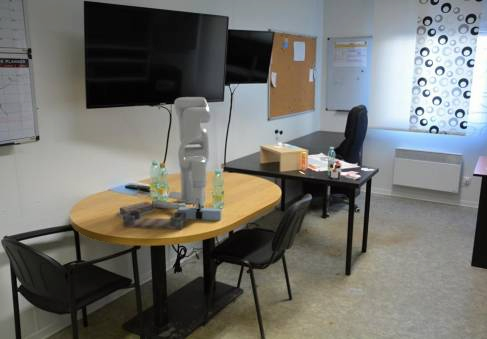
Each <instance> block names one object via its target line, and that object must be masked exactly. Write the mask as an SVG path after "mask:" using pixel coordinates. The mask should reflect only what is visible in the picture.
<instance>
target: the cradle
mask: <svg viewBox="0 0 487 339" xmlns="http://www.w3.org/2000/svg"><path fill="white" fill-rule="evenodd" d="M173 214H174V216H171V217H170V218H158V217H142V215H141V210H129V211H128V212H127V213H126V214H125V215H124V216H123V218H122V225H123V226H122V227H123V228H137V229H138V228H139V229H156V230H157V229H158V230H160V229H161V230H178V231H181V230H183V228H184V226H185V225H186V223H187V219H186V212H178V211H175V212H174V213H173Z"/></svg>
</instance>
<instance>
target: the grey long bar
mask: <svg viewBox="0 0 487 339" xmlns="http://www.w3.org/2000/svg"><path fill="white" fill-rule="evenodd" d="M151 204H152V206H153V208H156V209H168V210H169V209H170V210H176V212H178V209H179V208H180V207H187V204H186V203H181V202H180V203H177V202H170V201H163V200H160V199H158V200H156V199H155V200H152V202H151Z"/></svg>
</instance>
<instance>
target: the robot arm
mask: <svg viewBox="0 0 487 339" xmlns="http://www.w3.org/2000/svg"><path fill="white" fill-rule="evenodd" d="M173 104H174V110H175V114H176V116H177V119H178V123H179V124H178V125H179V140H180V144H179V148H178V152H177V154H178V155H177V156H178V165H179V170H180V175H179V176H180V197H178V202H179V203H180V204H181V203H185V204H186V205H187V204H189V205H190V204H192V207H195V208H196V219H195V220H198V219H202V211H201V208H205V207H204V206H205V205H204V203H205V201H206V187H207V185H208V184H207V165H208V162H209V158H210V151H209V150H210V147H209V135H208V130H207V129H206V128H205V127H201V124H204V123H205V124H206V123H210V121H211V110H210V107H209V104H208V101H207V99H206V98H205V97H203V96H185V97H183V96H182V97H178V98H176V99H175V100H174V102H173ZM189 145H190V146H189ZM191 145H194V146H191ZM195 145H198V146H195Z"/></svg>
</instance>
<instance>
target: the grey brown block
mask: <svg viewBox="0 0 487 339" xmlns="http://www.w3.org/2000/svg"><path fill="white" fill-rule="evenodd" d="M129 210H141V216H143V215H144V216H145V215H148V214H151V213H155V212H156V210H155V209H154V207H153V206H152V202H148V201H143V202H139V203H135V204H131V205H126V206H122V207H119V211H116V212H115V213H116V214H115V215H117V216H118V217H120V218H121V219H123V216H124V215H125V214H126V213H127V212H128V211H129Z"/></svg>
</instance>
